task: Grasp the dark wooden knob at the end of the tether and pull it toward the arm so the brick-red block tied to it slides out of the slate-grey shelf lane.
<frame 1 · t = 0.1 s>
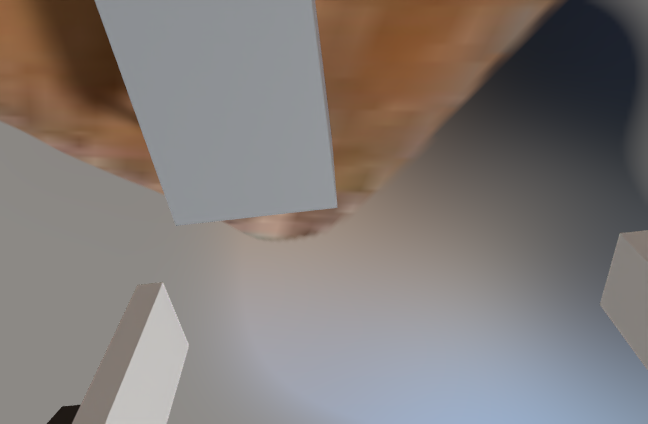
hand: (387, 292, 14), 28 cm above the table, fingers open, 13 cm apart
shelf lane: (251, 64, 37), on the table
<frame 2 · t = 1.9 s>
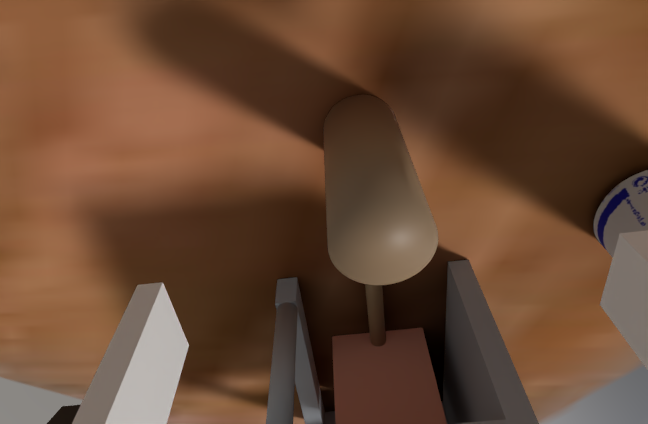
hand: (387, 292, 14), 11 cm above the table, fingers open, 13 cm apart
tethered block: (379, 361, 32), on the table
shelf lane: (378, 352, 32), on the table
beverage can: (639, 204, 26), on the table
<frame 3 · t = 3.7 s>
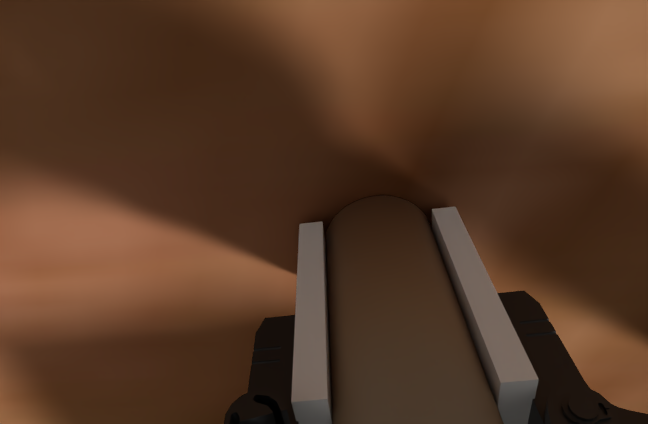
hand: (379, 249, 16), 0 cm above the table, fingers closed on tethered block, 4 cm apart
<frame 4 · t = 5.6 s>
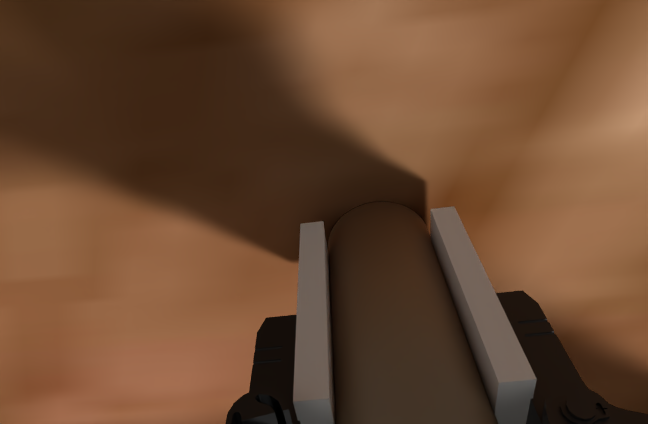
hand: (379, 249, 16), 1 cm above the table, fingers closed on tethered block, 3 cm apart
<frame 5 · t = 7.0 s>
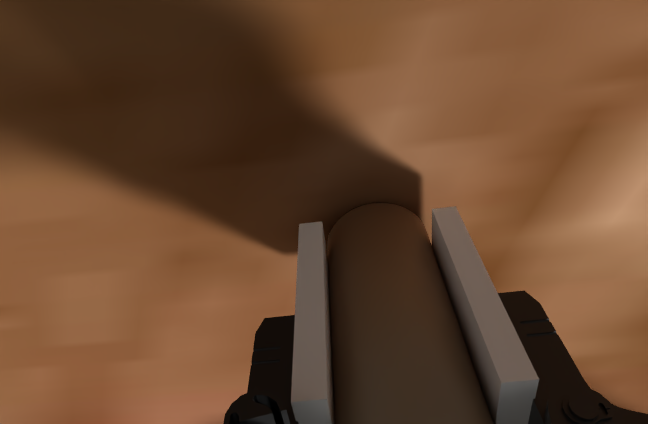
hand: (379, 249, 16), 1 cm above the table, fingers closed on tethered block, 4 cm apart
when the fingers open (1 cm above the table, at t = 7.4 s): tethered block stays where it is, on the table.
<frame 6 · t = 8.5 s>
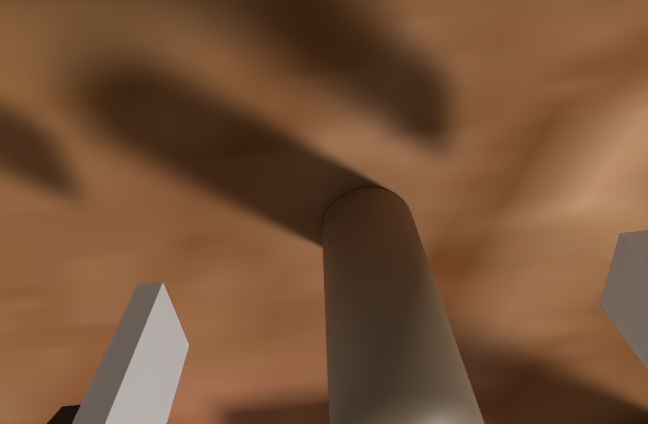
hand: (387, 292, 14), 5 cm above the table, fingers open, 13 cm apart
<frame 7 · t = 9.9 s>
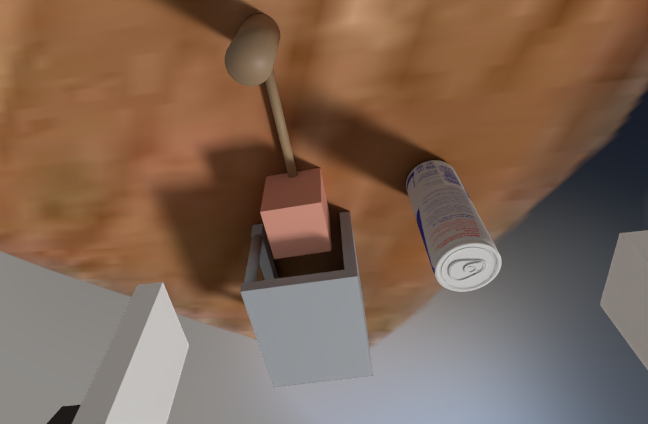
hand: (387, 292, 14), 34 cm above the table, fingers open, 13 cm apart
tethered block: (298, 195, 52), on the table
shelf lane: (311, 267, 58), on the table
beverage can: (429, 179, 51), on the table
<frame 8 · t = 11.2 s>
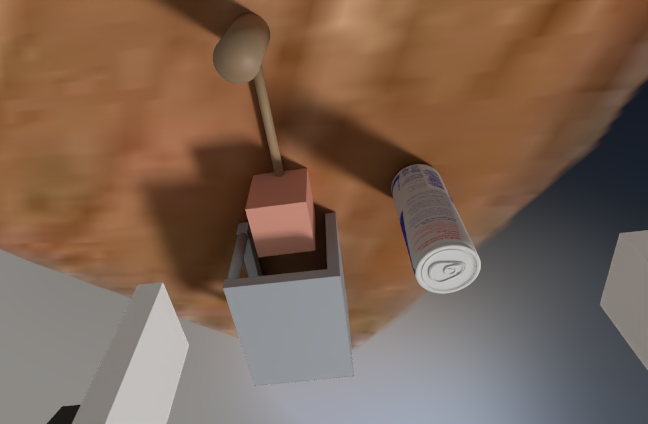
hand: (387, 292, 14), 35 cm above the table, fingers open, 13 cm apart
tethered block: (285, 194, 52), on the table
shelf lane: (296, 267, 58), on the table
beverage can: (415, 183, 52), on the table
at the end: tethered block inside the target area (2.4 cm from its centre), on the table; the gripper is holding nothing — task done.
